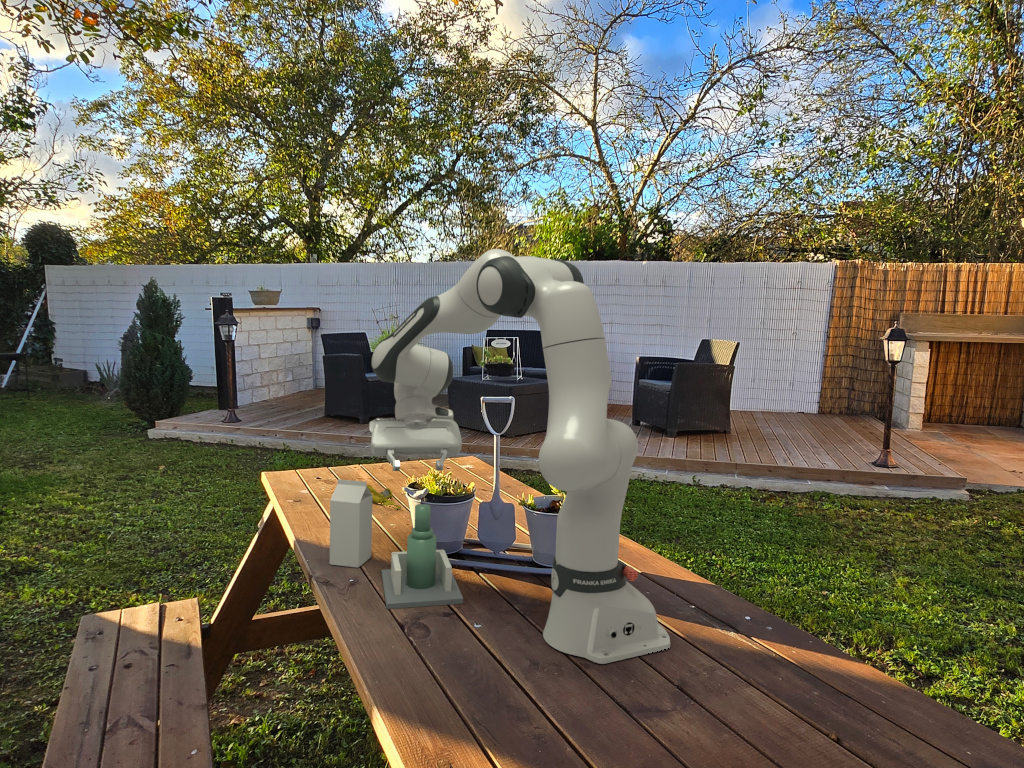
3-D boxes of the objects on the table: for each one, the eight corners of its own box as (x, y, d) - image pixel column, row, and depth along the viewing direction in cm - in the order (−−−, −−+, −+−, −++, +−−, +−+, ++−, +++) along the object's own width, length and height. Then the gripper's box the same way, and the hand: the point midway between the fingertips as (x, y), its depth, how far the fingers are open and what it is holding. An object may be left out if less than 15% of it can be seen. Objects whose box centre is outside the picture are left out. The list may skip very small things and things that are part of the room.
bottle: (433, 577, 137) (435, 501, 136) (437, 588, 132) (439, 509, 130) (405, 578, 136) (406, 502, 135) (407, 590, 130) (409, 510, 129)
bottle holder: (449, 570, 144) (449, 544, 144) (463, 603, 127) (464, 574, 127) (381, 574, 141) (382, 547, 140) (386, 609, 123) (387, 578, 123)
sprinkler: (335, 488, 196) (376, 479, 207) (334, 500, 197) (375, 491, 208) (372, 510, 184) (414, 499, 195) (371, 523, 184) (412, 512, 195)
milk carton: (358, 568, 143) (359, 485, 142) (329, 565, 145) (330, 482, 143) (371, 557, 150) (373, 478, 149) (343, 554, 152) (344, 476, 150)
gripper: (369, 409, 143) (370, 462, 134) (459, 410, 148) (465, 460, 139) (368, 426, 147) (368, 478, 139) (455, 426, 153) (461, 476, 144)
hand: (418, 469), depth 139 cm, fingers open, 8 cm apart
